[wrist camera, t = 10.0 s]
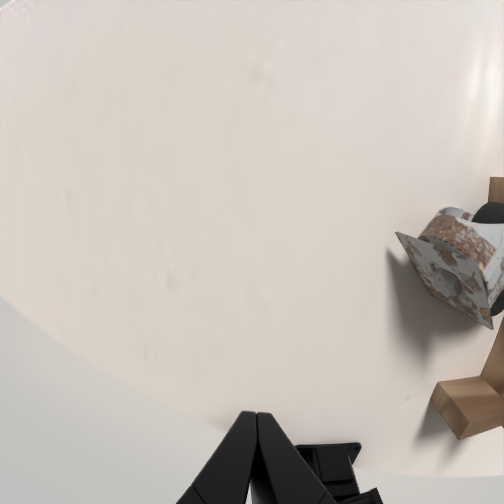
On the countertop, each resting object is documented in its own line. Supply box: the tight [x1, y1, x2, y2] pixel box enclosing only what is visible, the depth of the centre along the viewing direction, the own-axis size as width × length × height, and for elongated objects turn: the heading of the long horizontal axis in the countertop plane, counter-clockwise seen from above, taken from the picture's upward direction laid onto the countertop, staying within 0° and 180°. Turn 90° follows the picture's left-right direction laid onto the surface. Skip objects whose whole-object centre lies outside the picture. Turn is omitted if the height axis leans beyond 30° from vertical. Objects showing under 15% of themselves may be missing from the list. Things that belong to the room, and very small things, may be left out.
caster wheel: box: [395, 202, 504, 330], centre depth 16 cm, size 7×11×10 cm
